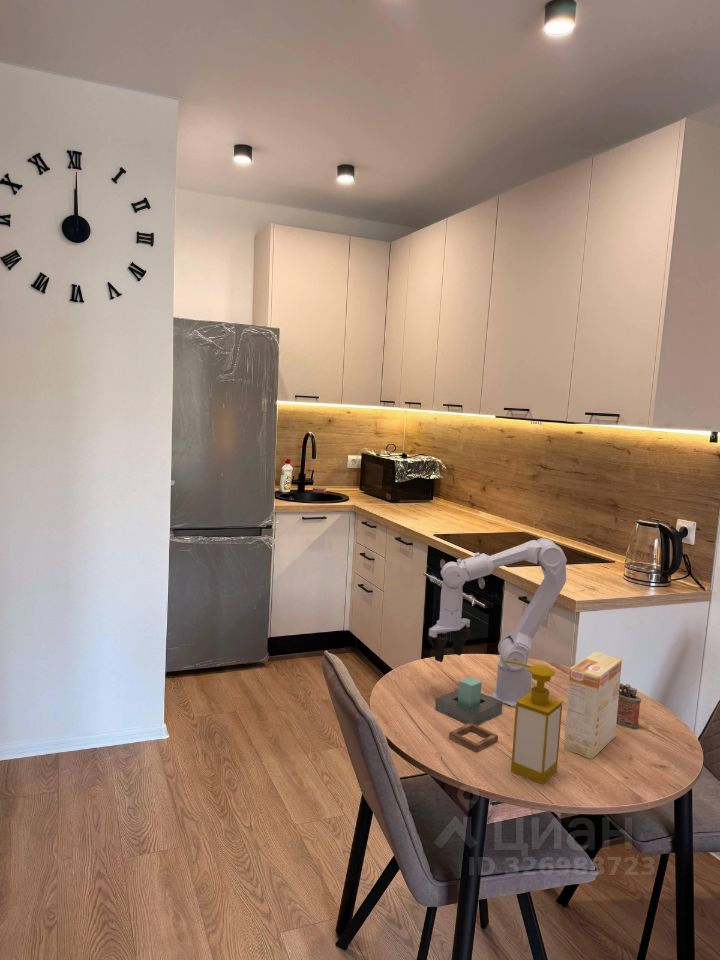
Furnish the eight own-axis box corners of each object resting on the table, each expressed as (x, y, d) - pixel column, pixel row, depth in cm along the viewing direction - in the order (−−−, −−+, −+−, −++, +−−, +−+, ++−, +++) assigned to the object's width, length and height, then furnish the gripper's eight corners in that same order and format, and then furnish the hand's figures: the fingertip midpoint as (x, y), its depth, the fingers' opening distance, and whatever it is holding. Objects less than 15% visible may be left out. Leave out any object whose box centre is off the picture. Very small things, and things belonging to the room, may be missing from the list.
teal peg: (467, 706, 176) (468, 676, 175) (479, 712, 173) (481, 681, 172) (457, 710, 173) (459, 680, 172) (469, 716, 170) (471, 685, 169)
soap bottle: (503, 749, 154) (510, 649, 152) (556, 770, 146) (565, 665, 144) (488, 761, 149) (495, 658, 146) (542, 784, 141) (551, 675, 138)
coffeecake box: (587, 726, 167) (594, 650, 165) (616, 737, 163) (623, 658, 161) (561, 748, 156) (568, 667, 154) (592, 760, 151) (599, 676, 149)
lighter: (640, 726, 169) (644, 687, 168) (635, 730, 166) (639, 691, 165) (608, 715, 174) (612, 677, 173) (603, 719, 172) (606, 681, 171)
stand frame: (470, 728, 164) (470, 722, 164) (497, 741, 158) (498, 735, 158) (448, 738, 158) (449, 732, 158) (476, 752, 153) (476, 746, 152)
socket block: (464, 696, 181) (465, 686, 181) (501, 713, 173) (502, 702, 172) (435, 709, 173) (435, 698, 173) (472, 727, 164) (473, 715, 164)
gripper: (456, 599, 187) (453, 647, 189) (421, 608, 177) (418, 659, 179) (477, 606, 182) (474, 654, 184) (442, 616, 172) (439, 667, 174)
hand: (448, 657), depth 181 cm, fingers open, 7 cm apart
